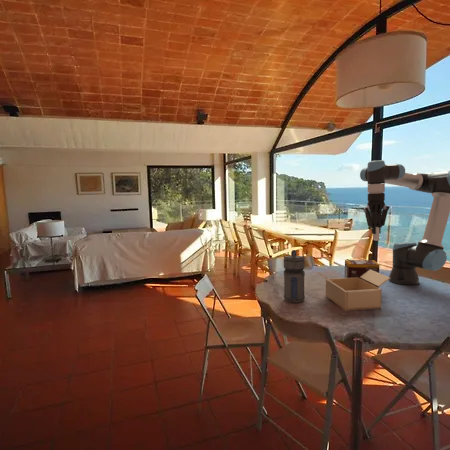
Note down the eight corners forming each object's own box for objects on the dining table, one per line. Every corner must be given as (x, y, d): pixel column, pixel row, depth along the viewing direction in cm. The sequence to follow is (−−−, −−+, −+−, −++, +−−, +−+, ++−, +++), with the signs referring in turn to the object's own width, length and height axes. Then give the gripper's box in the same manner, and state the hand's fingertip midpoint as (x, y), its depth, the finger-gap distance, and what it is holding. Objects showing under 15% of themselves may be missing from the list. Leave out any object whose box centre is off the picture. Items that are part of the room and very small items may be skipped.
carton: (357, 293, 156) (357, 277, 155) (381, 308, 136) (382, 289, 135) (325, 295, 155) (325, 278, 154) (345, 311, 134) (345, 291, 133)
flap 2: (360, 277, 153) (370, 270, 153) (379, 286, 137) (390, 278, 137) (359, 276, 153) (370, 269, 153) (378, 286, 137) (389, 277, 137)
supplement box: (379, 293, 156) (379, 264, 154) (347, 292, 159) (348, 263, 157) (373, 287, 166) (374, 259, 164) (344, 286, 169) (344, 259, 167)
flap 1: (327, 278, 151) (317, 271, 150) (343, 288, 136) (331, 280, 135) (327, 279, 151) (317, 272, 150) (342, 289, 136) (331, 281, 135)
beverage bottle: (304, 295, 156) (303, 248, 153) (305, 304, 143) (305, 253, 141) (284, 294, 158) (283, 248, 156) (283, 303, 145) (283, 253, 143)
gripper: (383, 192, 151) (383, 238, 153) (359, 193, 149) (359, 240, 152) (393, 191, 143) (393, 240, 146) (368, 193, 142) (368, 242, 144)
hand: (376, 240), depth 149 cm, fingers closed
